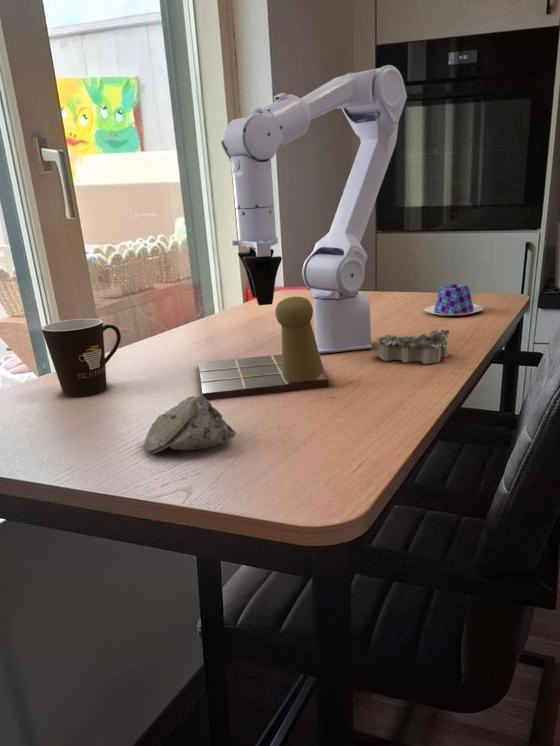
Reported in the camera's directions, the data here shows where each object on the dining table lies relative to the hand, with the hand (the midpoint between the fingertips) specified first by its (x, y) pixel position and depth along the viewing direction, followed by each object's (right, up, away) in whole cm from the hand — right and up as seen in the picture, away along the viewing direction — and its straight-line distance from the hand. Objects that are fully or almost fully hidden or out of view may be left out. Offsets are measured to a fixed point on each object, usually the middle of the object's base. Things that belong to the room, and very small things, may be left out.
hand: (262, 300), depth 109 cm
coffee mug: (-25, -14, -3) cm, 29 cm away
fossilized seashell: (-6, -24, -27) cm, 37 cm away
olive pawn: (+7, -13, -7) cm, 16 cm away
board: (0, -12, -2) cm, 12 cm away
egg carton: (+24, -8, +3) cm, 26 cm away
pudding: (+37, +7, +35) cm, 51 cm away
